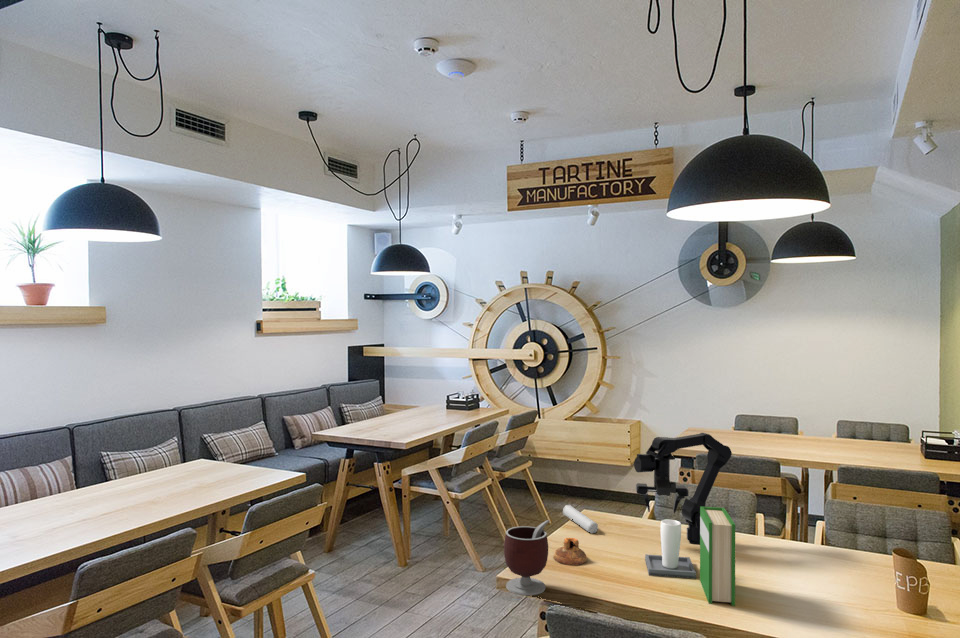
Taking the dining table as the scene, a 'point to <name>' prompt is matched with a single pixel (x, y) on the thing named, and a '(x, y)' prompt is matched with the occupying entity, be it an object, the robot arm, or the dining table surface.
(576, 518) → the tube
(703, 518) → the hardback book
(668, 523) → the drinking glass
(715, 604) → the dining table surface
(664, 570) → the serving tray
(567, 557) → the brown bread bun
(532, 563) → the mate gourd
